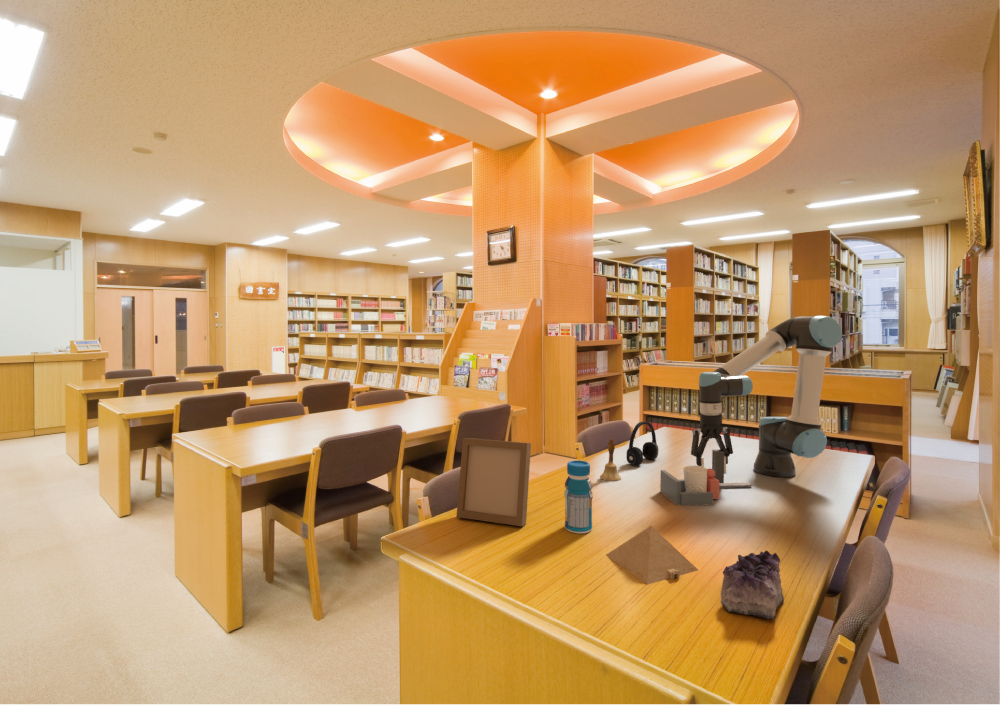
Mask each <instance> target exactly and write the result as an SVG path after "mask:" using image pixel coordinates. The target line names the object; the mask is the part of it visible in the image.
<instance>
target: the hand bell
mask: <svg viewBox="0 0 1000 705" xmlns="http://www.w3.org/2000/svg"><path fill="white" fill-rule="evenodd" d="M615 446H616V445H615V441H614V439H613V438H609V441H608V444H607V451H608V455H609V456H608V462H607V463H605V465H604V470H603V472H602V474H600V479H601V480H603V481H609V482H618V481H620V480H622V477H621V475H620V474H619V473H618V467H617V464H616V463H614V453H615Z"/></svg>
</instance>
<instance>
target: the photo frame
mask: <svg viewBox="0 0 1000 705" xmlns="http://www.w3.org/2000/svg"><path fill="white" fill-rule="evenodd" d="M531 448H532V443H531V442H519V441H511V440H510V441H508V440H494V439H482V438H472V437H471V438H470V437H469V438H468V437H463V438H462V445H461V458H460V470H459V481H458V492H457V494H458V495H457V504H456V505H457V506H456V518H461V519H469V520H475V521H477V520H478V521H483V522H490V523H496V524H502V525H509V526H510V525H511V526H517V527H523V526H525V525H527V515H528V514H527V513H528V512H527V511H528V499H529V497H528V496H529V481H530V466H531V463H530V462H531Z"/></svg>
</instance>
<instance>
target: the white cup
mask: <svg viewBox="0 0 1000 705" xmlns="http://www.w3.org/2000/svg"><path fill="white" fill-rule="evenodd" d="M707 469H708V468H707V467H705V466H704V467H701V466H698V465H688V466H684V467H683V479H684V482H685V489H686V491H685V492H707Z"/></svg>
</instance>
